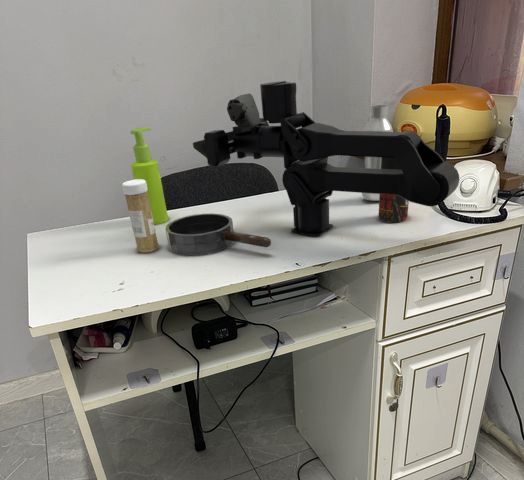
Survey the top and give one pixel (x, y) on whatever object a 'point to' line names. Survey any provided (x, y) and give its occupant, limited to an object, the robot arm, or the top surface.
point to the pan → (198, 234)
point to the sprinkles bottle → (140, 215)
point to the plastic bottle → (376, 125)
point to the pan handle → (245, 238)
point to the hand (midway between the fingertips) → (207, 140)
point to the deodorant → (392, 199)
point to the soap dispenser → (149, 176)
